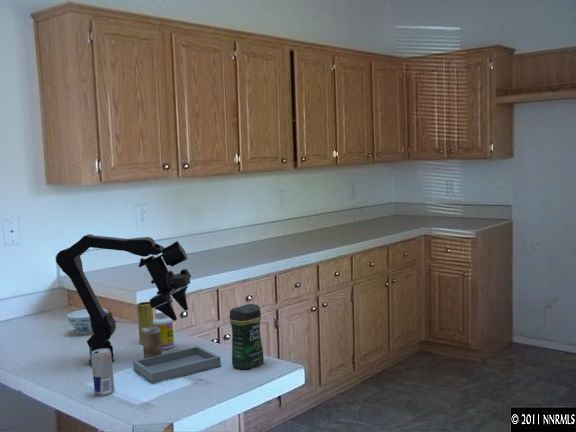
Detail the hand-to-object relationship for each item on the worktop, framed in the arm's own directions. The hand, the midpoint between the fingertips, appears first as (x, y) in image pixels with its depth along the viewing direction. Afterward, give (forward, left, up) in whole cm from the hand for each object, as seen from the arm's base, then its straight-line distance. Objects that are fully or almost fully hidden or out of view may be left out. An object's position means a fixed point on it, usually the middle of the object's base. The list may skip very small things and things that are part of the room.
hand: (181, 315), depth 203 cm
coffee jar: (+11, -24, -14) cm, 30 cm away
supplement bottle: (-1, +14, -14) cm, 20 cm away
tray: (-7, -11, -13) cm, 19 cm away
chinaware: (-15, +57, -14) cm, 60 cm away
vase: (-3, +25, -14) cm, 29 cm away
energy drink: (-31, -16, -14) cm, 38 cm away
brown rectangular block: (-9, +4, -14) cm, 17 cm away
